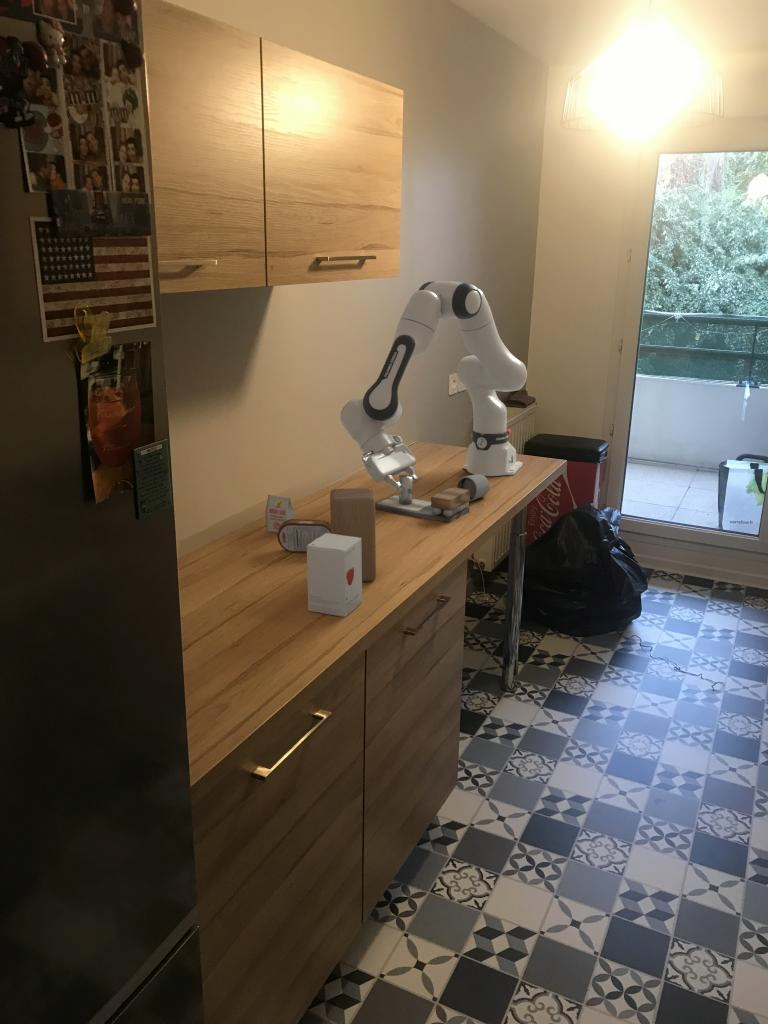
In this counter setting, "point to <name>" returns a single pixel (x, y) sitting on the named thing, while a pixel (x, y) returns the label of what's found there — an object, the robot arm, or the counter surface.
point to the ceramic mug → (474, 485)
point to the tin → (301, 533)
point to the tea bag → (278, 512)
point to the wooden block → (356, 523)
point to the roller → (406, 489)
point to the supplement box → (334, 574)
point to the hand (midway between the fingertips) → (407, 484)
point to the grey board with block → (431, 505)
